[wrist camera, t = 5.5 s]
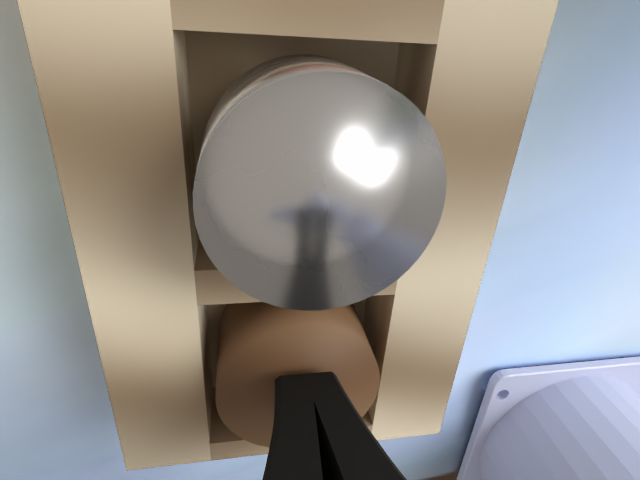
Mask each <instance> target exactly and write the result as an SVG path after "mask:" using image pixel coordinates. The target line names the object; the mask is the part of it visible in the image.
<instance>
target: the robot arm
mask: <svg viewBox="0 0 640 480" xmlns="http://www.w3.org/2000/svg"><path fill="white" fill-rule="evenodd" d="M263 480H406V479H405V477H404V476H403V475H402V474H401V472H400V471H399V470H398V468H397V467H396V466H395V464H394V463H393V462H392V461H391V459H390V458H389V457H388V455H387V454H386V452H385V451H384V450H383V448H382V447H381V445H380V444H379V443H378V441H377V440H376V438H375V437H374V436H373V434H372V433H371V431H370V430H369V428H368V427H367V425H366V424H365V422H364V421H363V419H362V418H361V416H360V415H359V413H358V412H357V410H356V409H355V407H354V405H353V404H352V402H351V401H350V399H349V397H348V396H347V394H346V392H345V391H344V389H343V387H342V385H341V384H340V382H339V380H338V378H337V376H336V375H335V374H334V373H333V372H332V371H330V372H318V373H306V374H295V375H283V376H279V377H278V378H276V379H275V397H274V423H273V431H272V436H271V442H270V447H269V452H268V458H267V463H266V467H265V472H264V476H263ZM457 480H640V356H639V357H628V358H618V359H607V360H596V361H586V362H575V363H564V364H554V365H543V366H532V367H522V368H511V369H502V370H498V371H497V372H495V373H494V374H493V375H492V376H491V378H490V379H489V382H488V385H487V388H486V391H485V394H484V397H483V400H482V404H481V407H480V410H479V413H478V416H477V419H476V422H475V425H474V428H473V431H472V434H471V437H470V440H469V443H468V446H467V449H466V452H465V455H464V458H463V461H462V464H461V467H460V470H459V474H458V477H457Z"/></svg>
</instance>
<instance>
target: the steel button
mask: <svg viewBox="0 0 640 480" xmlns="http://www.w3.org/2000/svg"><path fill="white" fill-rule="evenodd" d="M446 184H447V175H446V167H445V160H444V156H443V152H442V149H441V145H440V143H439V141H438V138H437V136H436V134H435V131H434V130H433V128H432V126H431V125H430V123H429V122H428V120H427V119H426V117H425V116H424V115H423V114H422V112H421V111H420V110H419V109H418V108H417V107H416V105H414V104H413V103H412V102H411V101H410V100H409V99H407V98H406V97H405V96H404V95H403V94H401V93H400V92H398V91H397V90H395V89H393V88H392V87H390V86H388V85H387V84H385V83H383V82H381V81H379V80H377V79H375V78H373V77H371V76H369V75H367V74H365V73H363V72H361V71H359V70H357V69H355V68H353V67H351V66H349V65H347V64H345V63H343V62H340V61H338V60H336V59H332V58H329V57H325V56H320V55H312V54H293V55H287V56H281V57H277V58H274V59H271V60H268V61H265V62H263V63H261V64H259V65H257V66H255V67H253V68H251V69H250V70H248V71H247V72H245V73H244V74H242V75H241V76H240V77H239V78H238V79H236V80H235V81H234V82H233V83H232V84H231V85H230V86H229V87H228V88H227V90H226V91H225V92H224V93H223V94H222V95H221V97H220V99H219V100H218V102H217V103H216V105H215V107H214V108H213V111H212V113H211V115H210V117H209V120H208V123H207V126H206V130H205V133H204V138H203V142H202V147H201V151H200V156H199V160H198V165H197V170H196V174H195V180H194V187H193V213H194V220H195V226H196V229H197V232H198V235H199V238H200V241H201V243H202V245H203V247H204V249H205V251H206V254H207V255H208V257H209V258H210V260H211V261H212V263H213V264H214V266H215V267H216V268H217V269H218V270H219V271H220V272H221V274H222V275H223V276H224V277H225V278H226V279H227V280H228V281H230V282H231V283H232V284H233V285H234V286H236V287H237V288H238V289H240V290H241V291H243V292H245V293H246V294H248V295H249V296H251V297H254V298H256V299H258V300H260V301H262V302H265V303H268V304H271V305H274V306H277V307H282V308H286V309H293V310H303V311H315V310H327V309H334V308H338V307H343V306H347V305H350V304H353V303H356V302H359V301H362V300H364V299H366V298H368V297H371V296H373V295H375V294H376V293H378V292H380V291H382V290H383V289H385V288H387V287H388V286H389V285H391V284H392V283H394V282H395V281H396V280H398V279H399V278H400V277H401V276H402V275H403V274H404V273H406V272H407V271H408V270H409V269H410V268H411V267H412V265H413V264H414V263H415V262H416V261H417V260H418V259H419V258H420V256H421V255H422V253H423V252H424V251H425V249H426V248H427V246H428V245H429V243H430V241H431V239H432V237H433V236H434V234H435V231H436V229H437V227H438V224H439V222H440V219H441V215H442V212H443V208H444V204H445V197H446Z"/></svg>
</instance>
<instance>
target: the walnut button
mask: <svg viewBox="0 0 640 480" xmlns="http://www.w3.org/2000/svg"><path fill="white" fill-rule="evenodd" d="M330 371H332V372H333V373H334V374H335V375H336V376H337V378H338V380H339V382H340V384H341V385H342V387H343V389H344V391H345V392H346V394H347V396H348V397H349V399H350V401H351V402H352V404H353V405H354V407H355V409H356V410H357V412H358V413H359V415H360V416H361V418H362V417H363V416H364V415H365V414H366V412H367V411H368V410H369V409H370V407H371V405H372V404H373V402H374V400H375V398H376V395H377V393H378V389H379V384H380V373H379V368H378V364H377V362H376V359H375V357H374V354H373V352H372V349H371V347H370V344H369V342H368V339H367V337H366V335H365V332H364V330H363V327H362V325H361V322H360V320H359V317H358V315H357V312H356V310H355V307H354V305H353V304H350V305H347V306H343V307H338V308H334V309H327V310H315V311H303V310H293V309H286V308H282V307H277V306H274V305H271V304H268V303H265V302H251V303H233V304H227V305H226V307H225V309H224V310H223V312H222V315H221V318H220V322H219V329H218V352H217V375H216V407H217V411H218V413H219V416H220V418H221V420H222V421H223V423H224V424H225V425H226V426H227V428H228V429H229V430H230V431H232V432H233V433H234V434H235V435H237V436H238V437H240V438H242V439H243V440H246V441H248V442H250V443H253V444H256V445H259V446H264V447H270V442H271V436H272V431H273V423H274V397H275V379H276V378H278V377H279V376H283V375H295V374H306V373H318V372H330Z"/></svg>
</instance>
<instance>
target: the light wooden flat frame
mask: <svg viewBox="0 0 640 480" xmlns="http://www.w3.org/2000/svg"><path fill="white" fill-rule="evenodd" d="M17 2H18V6H19V10H20V15H21V19H22V23H23V27H24V32H25V36H26V40H27V45H28V49H29V53H30V58H31V62H32V66H33V70H34V75H35V79H36V83H37V88H38V92H39V96H40V100H41V105H42V109H43V113H44V118H45V122H46V126H47V130H48V135H49V139H50V143H51V148H52V152H53V156H54V161H55V165H56V169H57V173H58V178H59V182H60V186H61V191H62V195H63V199H64V203H65V208H66V212H67V216H68V221H69V225H70V229H71V233H72V238H73V242H74V246H75V251H76V255H77V259H78V264H79V268H80V272H81V276H82V281H83V285H84V289H85V294H86V298H87V302H88V306H89V311H90V315H91V319H92V324H93V328H94V332H95V336H96V341H97V345H98V349H99V354H100V358H101V362H102V367H103V371H104V375H105V379H106V384H107V388H108V392H109V397H110V401H111V405H112V409H113V414H114V418H115V422H116V427H117V431H118V435H119V440H120V444H121V448H122V452H123V457H124V461H125V465H126V470H127V471H128V470H136V469H144V468H153V467H161V466H169V465H178V464H186V463H195V462H203V461H211V460H220V459H228V458H236V457H245V456H253V455H261V454H268V452H269V447H264V446H259V445H256V444H253V443H250V442H248V441H246V440H243V439H242V438H240V437H238V436H237V435H235V434H234V433H233V432H232V431H230V430H229V429H228V428H227V426H226V425H225V424H224V423H223V421H222V420H221V418H220V416H219V413H218V411H217V407H216V375H217V352H218V329H219V322H220V318H221V315H222V312H223V310H224V309H225V307H226V305H227V304H233V303H251V302H262V301H260V300H258V299H256V298H254V297H251V296H249V295H248V294H246V293H245V292H243V291H241V290H240V289H238V288H237V287H236V286H234V285H233V284H232V283H231V282H230V281H228V280H227V279H226V278H225V277H224V276H223V275H222V274H221V272H220V271H219V270H218V269H217V268H216V267H215V266H214V264H213V263H212V261H211V260H210V258H209V257H208V255H207V254H206V251H205V249H204V247H203V245H202V243H201V241H200V238H199V235H198V232H197V229H196V226H195V220H194V213H193V187H194V180H195V174H196V170H197V165H198V160H199V156H200V151H201V147H202V142H203V138H204V133H205V130H206V126H207V123H208V120H209V117H210V115H211V113H212V111H213V108H214V107H215V105H216V103H217V102H218V100H219V99H220V97H221V95H222V94H223V93H224V92H225V91H226V90H227V88H228V87H229V86H230V85H231V84H232V83H233V82H234V81H235V80H236V79H238V78H239V77H240V76H241V75H242V74H244V73H245V72H247V71H248V70H250V69H251V68H253V67H255V66H257V65H259V64H261V63H263V62H265V61H268V60H271V59H274V58H277V57H281V56H287V55H293V54H312V55H320V56H325V57H329V58H332V59H336V60H338V61H340V62H343V63H345V64H347V65H349V66H351V67H353V68H355V69H357V70H359V71H361V72H363V73H365V74H367V75H369V76H371V77H373V78H375V79H377V80H379V81H381V82H383V83H385V84H387V85H388V86H390V87H392V88H393V89H395V90H397V91H398V92H400V93H401V94H403V95H404V96H405V97H406V98H407V99H409V100H410V101H411V102H412V103H413V104H414V105H416V107H417V108H418V109H419V110H420V111H421V112H422V114H423V115H424V116H425V117H426V119H427V120H428V122H429V123H430V125H431V126H432V128H433V130H434V131H435V134H436V136H437V138H438V141H439V143H440V145H441V149H442V152H443V156H444V160H445V167H446V175H447V184H446V197H445V204H444V208H443V212H442V215H441V219H440V222H439V224H438V227H437V229H436V231H435V234H434V236H433V237H432V239H431V241H430V243H429V245H428V246H427V248H426V249H425V251H424V252H423V253H422V255H421V256H420V258H419V259H418V260H417V261H416V262H415V263H414V264H413V265H412V267H411V268H410V269H409V270H408V271H407V272H406V273H404V274H403V275H402V276H401V277H400V278H399V279H398V280H396V281H395V282H394V283H392V284H391V285H389V286H388V287H387V288H385V289H383V290H382V291H380V292H378V293H376V294H375V295H373V296H371V297H368V298H366V299H364V300H362V301H359V302H356V303H353V305H354V307H355V310H356V312H357V315H358V317H359V320H360V322H361V325H362V327H363V330H364V332H365V335H366V337H367V339H368V342H369V344H370V347H371V349H372V352H373V354H374V357H375V359H376V362H377V364H378V368H379V373H380V384H379V389H378V393H377V395H376V398H375V400H374V402H373V404H372V405H371V407H370V409H369V410H368V411H367V412H366V414H365V415H364V416H363V417H362V419H363V421H364V422H365V424H366V425H367V427H368V428H369V430H370V431H371V433H372V434H373V436H374V437H375V438H376V440H377V441H378V440H387V439H395V438H403V437H412V436H420V435H428V434H437V433H439V432H440V428H441V425H442V421H443V417H444V414H445V410H446V407H447V403H448V399H449V396H450V392H451V389H452V385H453V381H454V378H455V374H456V370H457V367H458V363H459V360H460V356H461V352H462V349H463V345H464V342H465V338H466V334H467V331H468V327H469V323H470V320H471V316H472V313H473V309H474V305H475V302H476V298H477V295H478V291H479V287H480V284H481V280H482V276H483V273H484V269H485V266H486V262H487V258H488V255H489V251H490V248H491V244H492V240H493V237H494V233H495V229H496V226H497V222H498V219H499V215H500V211H501V208H502V204H503V201H504V197H505V193H506V190H507V186H508V182H509V179H510V175H511V172H512V168H513V164H514V161H515V157H516V154H517V150H518V146H519V143H520V139H521V136H522V132H523V128H524V125H525V121H526V117H527V114H528V110H529V107H530V103H531V99H532V96H533V92H534V89H535V85H536V81H537V78H538V74H539V70H540V67H541V63H542V60H543V56H544V52H545V49H546V45H547V42H548V38H549V34H550V31H551V27H552V23H553V20H554V16H555V13H556V9H557V5H558V2H559V0H17Z"/></svg>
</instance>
